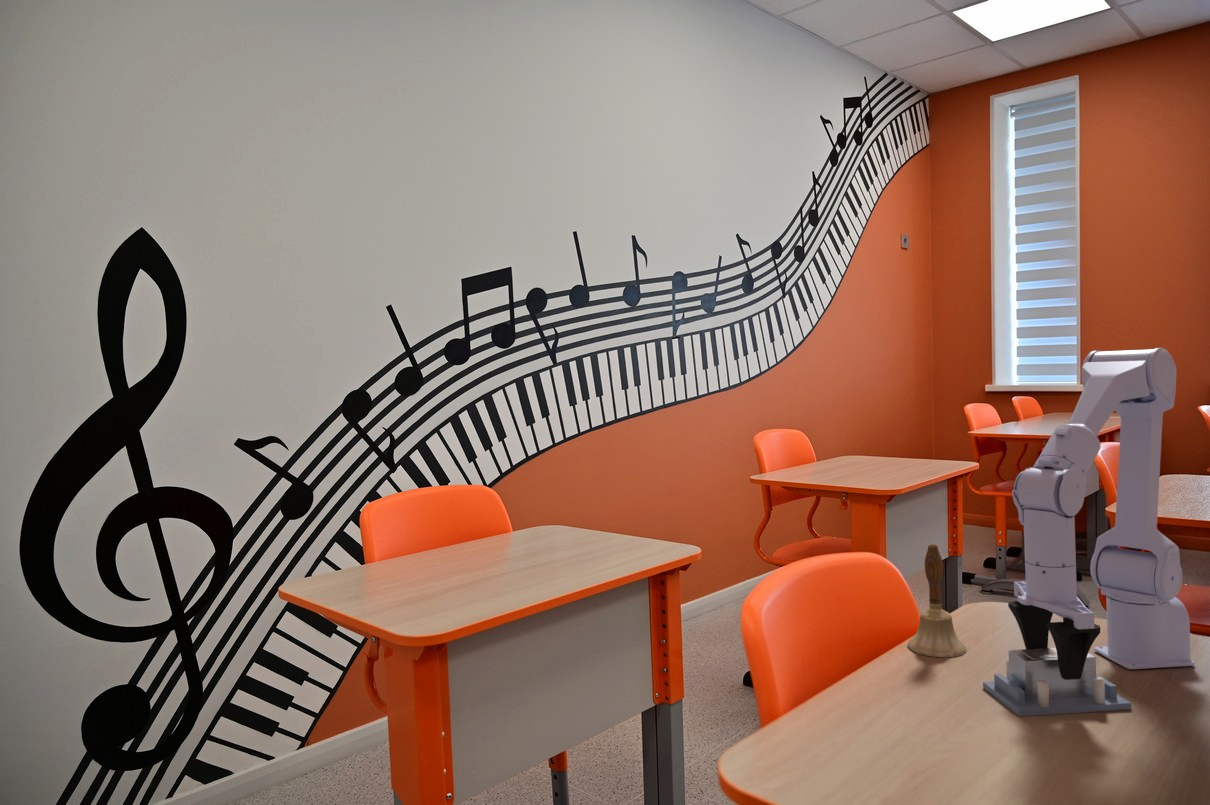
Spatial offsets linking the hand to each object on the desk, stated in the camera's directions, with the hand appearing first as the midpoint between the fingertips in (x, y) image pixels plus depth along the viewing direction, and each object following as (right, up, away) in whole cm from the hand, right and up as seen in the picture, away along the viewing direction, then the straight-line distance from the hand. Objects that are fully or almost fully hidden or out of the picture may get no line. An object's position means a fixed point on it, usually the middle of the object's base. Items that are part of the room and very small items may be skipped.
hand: (1053, 667), depth 104 cm
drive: (0, -3, 0) cm, 3 cm away
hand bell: (-7, -4, +20) cm, 21 cm away
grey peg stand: (0, -4, 0) cm, 4 cm away
